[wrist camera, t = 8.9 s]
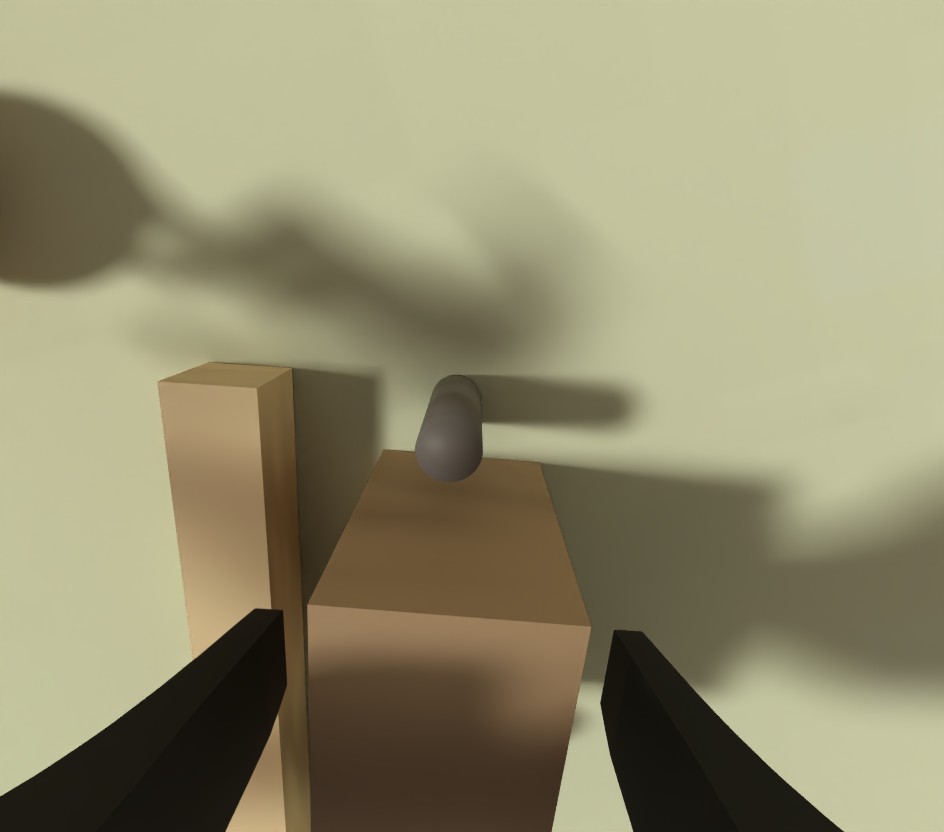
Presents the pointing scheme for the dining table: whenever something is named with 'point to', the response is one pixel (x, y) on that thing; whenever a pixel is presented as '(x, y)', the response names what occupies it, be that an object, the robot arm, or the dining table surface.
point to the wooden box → (444, 655)
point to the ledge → (269, 534)
